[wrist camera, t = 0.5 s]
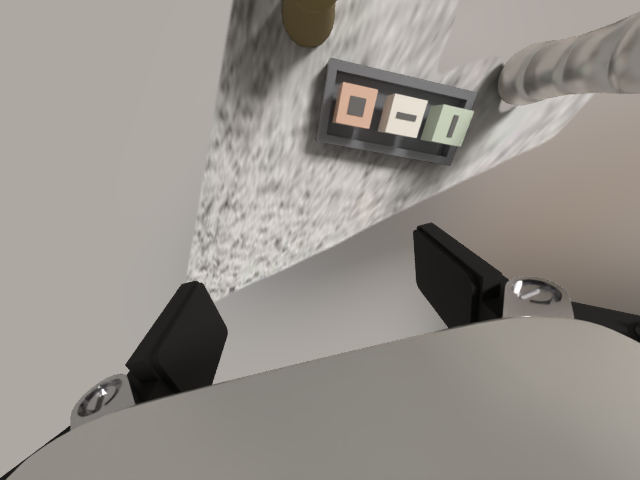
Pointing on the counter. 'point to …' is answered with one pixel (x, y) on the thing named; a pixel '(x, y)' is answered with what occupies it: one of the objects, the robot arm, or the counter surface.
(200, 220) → the counter surface
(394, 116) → the key cream
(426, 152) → the base
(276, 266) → the counter surface
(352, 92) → the peach square block
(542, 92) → the plastic bottle
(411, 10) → the counter surface
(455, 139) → the key sage
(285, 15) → the olive rounded piece
